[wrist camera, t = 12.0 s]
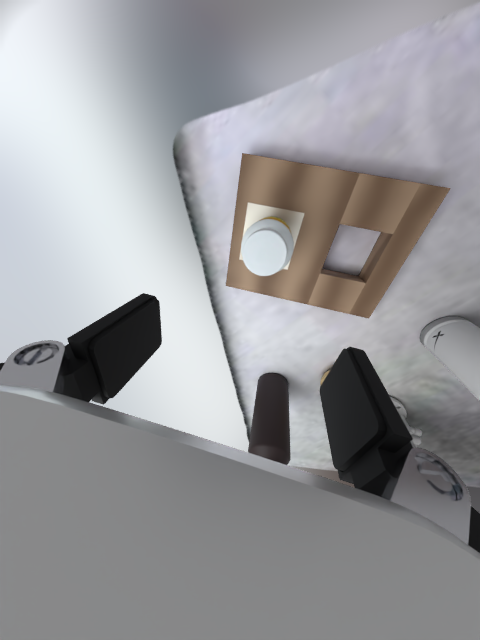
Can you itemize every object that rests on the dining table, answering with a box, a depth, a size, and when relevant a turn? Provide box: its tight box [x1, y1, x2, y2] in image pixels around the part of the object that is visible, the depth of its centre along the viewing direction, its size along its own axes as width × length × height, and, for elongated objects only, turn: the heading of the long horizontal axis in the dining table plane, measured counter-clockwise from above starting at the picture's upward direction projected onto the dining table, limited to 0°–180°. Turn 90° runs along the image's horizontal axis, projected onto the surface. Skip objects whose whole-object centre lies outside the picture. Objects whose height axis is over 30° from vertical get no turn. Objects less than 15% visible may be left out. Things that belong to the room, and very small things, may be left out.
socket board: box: [226, 153, 450, 318], centre depth 26 cm, size 22×16×3 cm
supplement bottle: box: [241, 216, 294, 276], centre depth 21 cm, size 5×5×10 cm
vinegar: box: [248, 373, 290, 465], centre depth 35 cm, size 7×7×20 cm
